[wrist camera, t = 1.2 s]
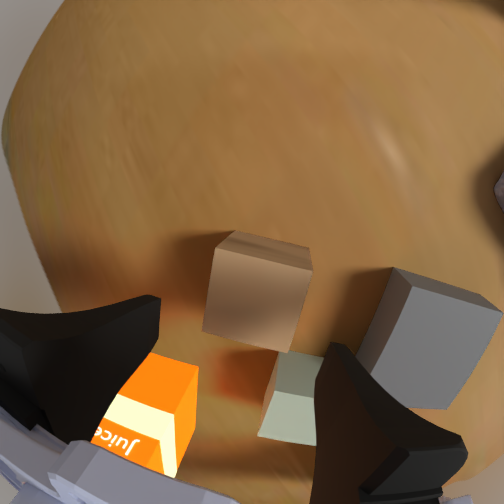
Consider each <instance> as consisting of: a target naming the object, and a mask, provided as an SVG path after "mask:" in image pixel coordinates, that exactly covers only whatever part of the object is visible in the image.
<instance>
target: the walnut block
mask: <svg viewBox="0 0 504 504" xmlns="http://www.w3.org/2000/svg"><path fill="white" fill-rule="evenodd" d="M312 274H313V267H312V262H311V256H310V251H309V248H307V247H303V246H299V245H295V244H291V243H286V242H282V241H278V240H274V239H270V238H266V237H261V236H257V235H253V234H249V233H244V232H240V231H236V230H235V231H234V232H233V233H231V234H230V235H229V236H228V237H227V238H226V239H225V240H223V241H222V242H221V243H220V244H219V245H218V246H217V247H215V252H214V258H213V264H212V269H211V275H210V281H209V288H208V294H207V300H206V306H205V313H204V319H203V326H202V331H203V332H206V333H210V334H213V335H217V336H220V337H224V338H228V339H231V340H235V341H239V342H243V343H246V344H250V345H254V346H258V347H263V348H267V349H271V350H275V351H280V352H284V353H288V351H289V348H290V345H291V342H292V339H293V336H294V333H295V330H296V327H297V323H298V320H299V317H300V314H301V311H302V307H303V304H304V301H305V298H306V294H307V291H308V288H309V284H310V281H311V277H312Z"/></svg>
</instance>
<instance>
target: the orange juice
mask: <svg viewBox="0 0 504 504" xmlns="http://www.w3.org/2000/svg"><path fill="white" fill-rule="evenodd" d="M197 381H198V367H197V366H193V365H190V364H186V363H183V362H179V361H176V360H172V359H169V358H166V357H162V356H159V355H156V354H153V353H149V355H148V356H147V358H146V359H145V360H144V361H143V362H142V364H141V365H140V366H139V367H138V369H137V370H136V371H135V372H134V373H133V375H132V376H131V377H130V378H129V380H128V381H127V382H126V383H125V384H124V386H123V387H122V388H121V390H120V391H119V392H118V394H117V395H116V397H115V399H114V400H113V402H112V403H111V405H110V407H109V408H108V410H107V412H106V414H105V416H104V417H103V419H102V421H101V423H100V425H99V427H98V429H97V431H96V433H95V435H94V437H93V439H92V441H91V443H93V444H96V445H98V446H101V447H103V448H105V449H107V450H109V451H111V452H113V453H115V454H117V455H119V456H122V457H124V458H126V459H128V460H130V461H133V462H135V463H137V464H139V465H142V466H144V467H147V468H149V469H152V470H154V471H157V472H159V473H162V474H165V475H167V476H170V477H173V478H174V477H175V475H176V472H177V469H178V467H179V464H180V462H181V460H182V457H183V455H184V453H185V450H186V448H187V446H188V443H189V441H190V439H191V436H192V434H193V431H194V429H195V418H196V398H197Z"/></svg>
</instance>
